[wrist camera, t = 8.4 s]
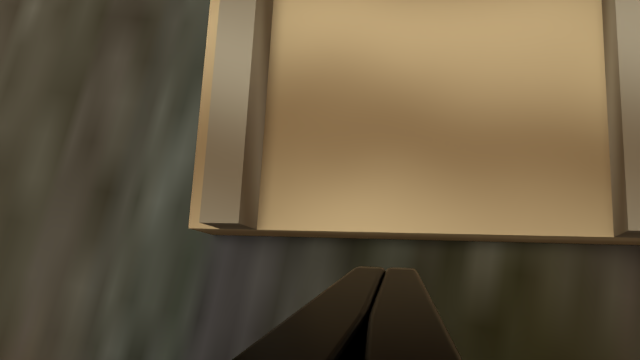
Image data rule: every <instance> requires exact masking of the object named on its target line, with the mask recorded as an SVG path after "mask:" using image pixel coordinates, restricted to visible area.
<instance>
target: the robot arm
mask: <svg viewBox="0 0 640 360" xmlns="http://www.w3.org/2000/svg"><path fill="white" fill-rule="evenodd" d="M232 360H462V358H461V356H460V354H459V352H458V351H457V349H456V347H455V345H454V343H453V341H452V339H451V337H450V335H449V333H448V331H447V329H446V327H445V325H444V323H443V321H442V319H441V317H440V315H439V313H438V311H437V310H436V308H435V306H434V304H433V302H432V300H431V298H430V296H429V294H428V292H427V290H426V288H425V286H424V284H423V282H422V280H421V278H420V276H419V274H418V273H417V271H416V270H415V269H412V268H389V269H387V270H386V271H385V270H384V269H383V268H381V267H357V268H355V269H353V270H352V271H351V272H349V273H348V274H347V275H345V276H344V277H342V278H341V279H340V280H338V281H337V282H336V283H334V284H333V285H332V286H330V287H329V288H328V289H326V290H325V291H324V292H322V293H321V294H320V295H318V296H317V297H316V298H314V299H313V300H312V301H310V302H309V303H308V304H306V305H305V306H304V307H302V308H301V309H300V310H298V311H297V312H296V313H294V314H293V315H291V316H290V317H289V318H287V319H286V320H285V321H283V322H282V323H281V324H279V325H278V326H277V327H275V328H274V329H273V330H271V331H270V332H269V333H267V334H266V335H265V336H263V337H262V338H261V339H259V340H258V341H257V342H255V343H254V344H253V345H251V346H250V347H249V348H247V349H246V350H245V351H243V352H242V353H240V354H239V355H238V356H236V357H235V358H234V359H232Z"/></svg>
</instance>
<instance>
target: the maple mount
mask: <svg viewBox="0 0 640 360" xmlns="http://www.w3.org/2000/svg"><path fill="white" fill-rule="evenodd" d="M189 229H193V230H197V231H201V232H204V233H208V234H212V235H243V236H284V237H325V238H367V239H408V240H450V241H491V242H533V243H574V244H616V245H640V0H210V10H209V20H208V31H207V41H206V51H205V62H204V72H203V83H202V93H201V103H200V114H199V124H198V134H197V145H196V155H195V166H194V176H193V186H192V197H191V207H190V217H189Z"/></svg>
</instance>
